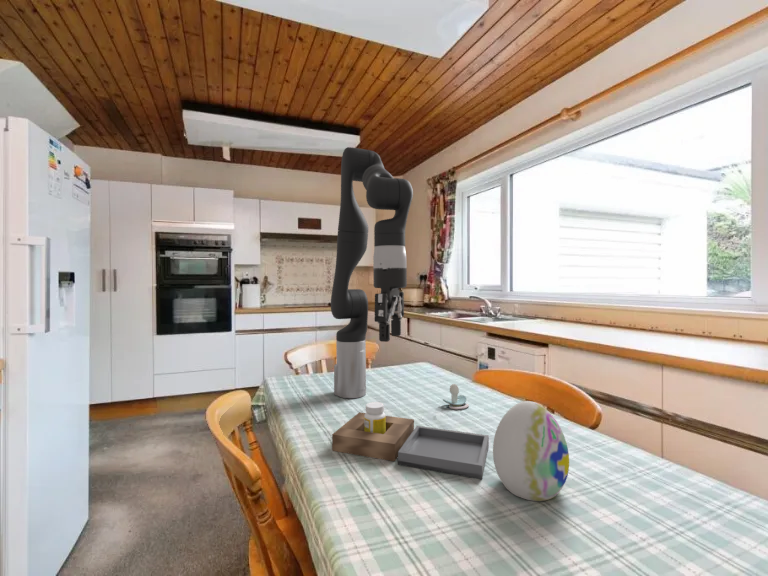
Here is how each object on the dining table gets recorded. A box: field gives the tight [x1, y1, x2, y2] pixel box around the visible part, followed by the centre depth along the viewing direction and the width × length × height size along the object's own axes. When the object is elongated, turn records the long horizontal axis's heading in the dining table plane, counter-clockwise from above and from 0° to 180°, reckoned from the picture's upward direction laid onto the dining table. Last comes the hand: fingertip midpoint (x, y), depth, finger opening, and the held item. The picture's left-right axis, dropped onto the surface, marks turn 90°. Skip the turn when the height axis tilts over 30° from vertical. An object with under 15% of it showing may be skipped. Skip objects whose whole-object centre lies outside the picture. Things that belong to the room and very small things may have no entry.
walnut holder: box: [331, 411, 415, 462], centre depth 83 cm, size 14×14×4 cm
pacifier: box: [442, 383, 470, 411], centre depth 107 cm, size 7×6×6 cm
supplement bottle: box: [364, 401, 387, 434], centre depth 83 cm, size 5×5×8 cm
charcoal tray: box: [397, 425, 490, 480], centre depth 77 cm, size 16×14×2 cm
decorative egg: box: [492, 400, 570, 502], centre depth 65 cm, size 12×12×15 cm
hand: (390, 338), depth 85 cm, fingers open, 8 cm apart
